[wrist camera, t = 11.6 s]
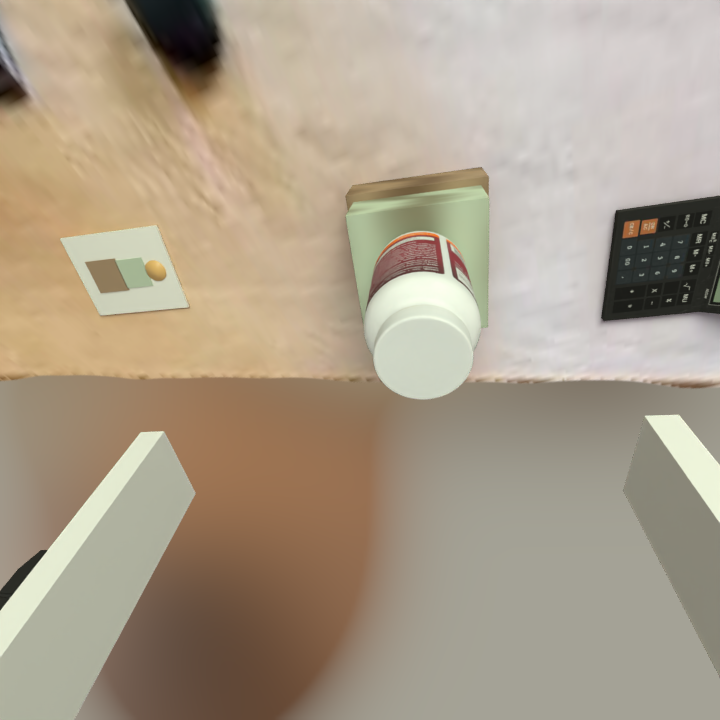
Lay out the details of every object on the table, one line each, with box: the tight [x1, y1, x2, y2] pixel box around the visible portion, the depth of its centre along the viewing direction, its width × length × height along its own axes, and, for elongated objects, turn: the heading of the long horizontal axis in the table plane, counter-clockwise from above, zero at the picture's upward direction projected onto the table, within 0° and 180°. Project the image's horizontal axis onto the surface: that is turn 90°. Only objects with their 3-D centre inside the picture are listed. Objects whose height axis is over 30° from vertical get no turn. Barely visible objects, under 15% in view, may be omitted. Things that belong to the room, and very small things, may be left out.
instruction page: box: [60, 225, 189, 316], centre depth 40 cm, size 10×8×1 cm
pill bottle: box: [364, 231, 481, 400], centre depth 24 cm, size 6×6×11 cm
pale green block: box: [346, 167, 489, 328], centre depth 32 cm, size 10×10×8 cm
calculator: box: [601, 196, 720, 321], centre depth 33 cm, size 9×12×3 cm
